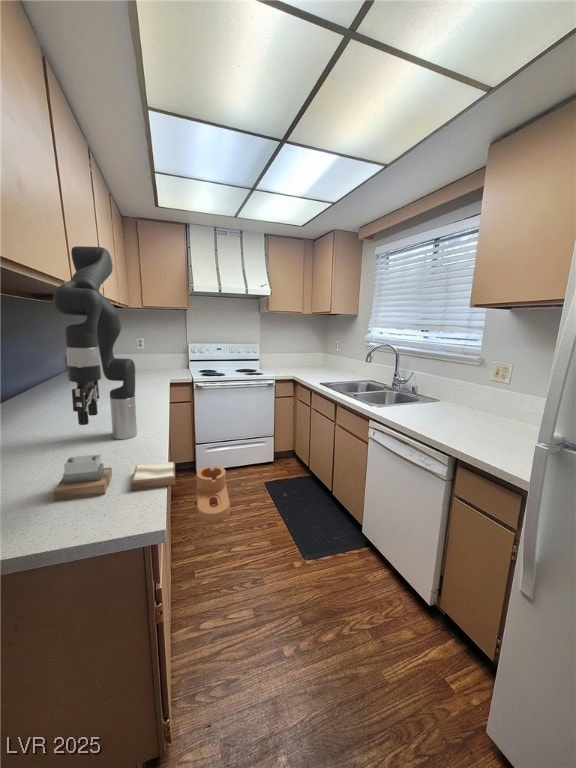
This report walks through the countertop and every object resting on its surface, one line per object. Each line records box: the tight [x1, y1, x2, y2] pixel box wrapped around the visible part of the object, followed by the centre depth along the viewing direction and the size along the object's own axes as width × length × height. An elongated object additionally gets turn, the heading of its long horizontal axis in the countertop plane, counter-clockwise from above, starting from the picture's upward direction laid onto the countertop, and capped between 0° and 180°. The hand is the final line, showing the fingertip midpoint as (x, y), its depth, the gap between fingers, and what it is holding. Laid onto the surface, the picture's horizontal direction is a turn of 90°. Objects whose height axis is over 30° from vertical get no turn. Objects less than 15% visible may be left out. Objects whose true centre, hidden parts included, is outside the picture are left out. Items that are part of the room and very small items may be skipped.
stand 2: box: [131, 461, 176, 492], centre depth 97 cm, size 11×12×3 cm
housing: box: [62, 454, 105, 485], centre depth 90 cm, size 5×9×6 cm, turn 110°
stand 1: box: [53, 466, 113, 502], centre depth 91 cm, size 11×12×3 cm
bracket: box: [196, 465, 231, 523], centre depth 86 cm, size 18×8×7 cm, turn 18°
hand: (88, 419), depth 87 cm, fingers open, 8 cm apart
